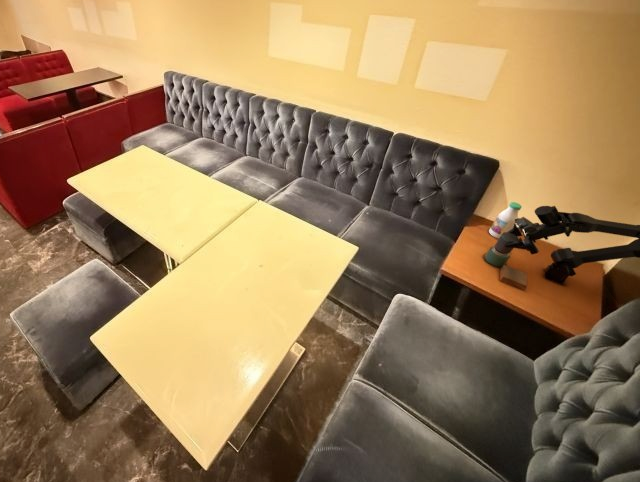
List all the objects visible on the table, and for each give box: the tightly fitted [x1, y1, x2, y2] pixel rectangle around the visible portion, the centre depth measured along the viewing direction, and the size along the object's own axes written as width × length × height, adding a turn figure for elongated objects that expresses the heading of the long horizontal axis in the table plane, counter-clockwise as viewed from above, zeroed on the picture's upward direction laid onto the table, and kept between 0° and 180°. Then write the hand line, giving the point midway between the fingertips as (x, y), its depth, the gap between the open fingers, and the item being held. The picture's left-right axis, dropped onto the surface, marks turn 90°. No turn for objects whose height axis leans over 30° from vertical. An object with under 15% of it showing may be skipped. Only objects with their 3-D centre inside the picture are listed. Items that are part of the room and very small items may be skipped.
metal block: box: [499, 264, 528, 291], centre depth 140 cm, size 8×8×3 cm
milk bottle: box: [488, 201, 522, 239], centre depth 160 cm, size 8×8×20 cm
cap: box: [494, 232, 520, 254], centre depth 143 cm, size 6×6×8 cm
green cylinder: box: [483, 245, 511, 269], centre depth 148 cm, size 8×8×8 cm
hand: (503, 241), depth 143 cm, fingers closed on cap, 6 cm apart
